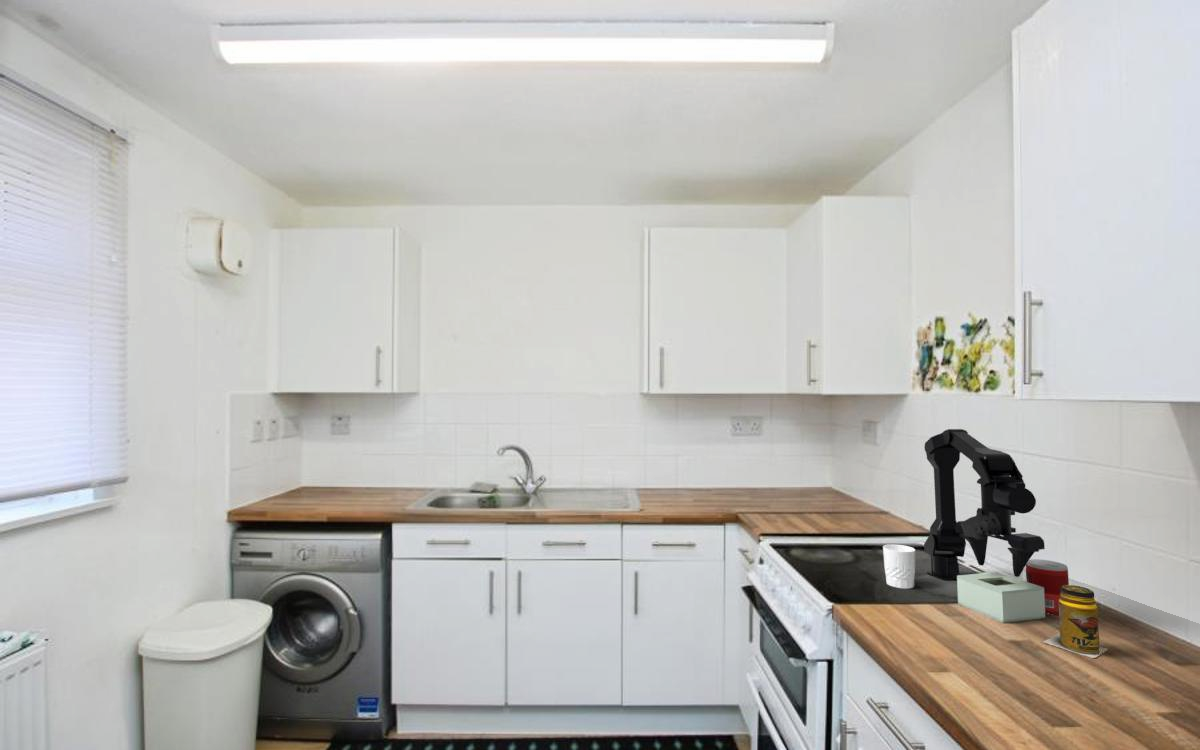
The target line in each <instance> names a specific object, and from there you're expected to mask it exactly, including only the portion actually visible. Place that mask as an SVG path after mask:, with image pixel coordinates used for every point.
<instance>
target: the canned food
mask: <svg viewBox="0 0 1200 750" xmlns="http://www.w3.org/2000/svg"><path fill="white" fill-rule="evenodd" d="M1025 578H1026V581H1025V582H1029V583H1032V584H1035V585H1038V586H1041V587H1044V597H1045V613H1049V614H1048V615H1051V614H1054V615H1053V616H1059V599H1060V598H1061V597H1060V593H1061V590H1060V588H1061V586H1063V585H1070V583H1069V582H1070V581H1069V569H1068V565H1066V564H1064V563H1061V562H1057V561H1054V560H1047V559H1036V558H1034V559H1033V558H1032V559H1031V558H1030V559H1029V560H1028V562H1027V564H1026V566H1025Z"/></svg>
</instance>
